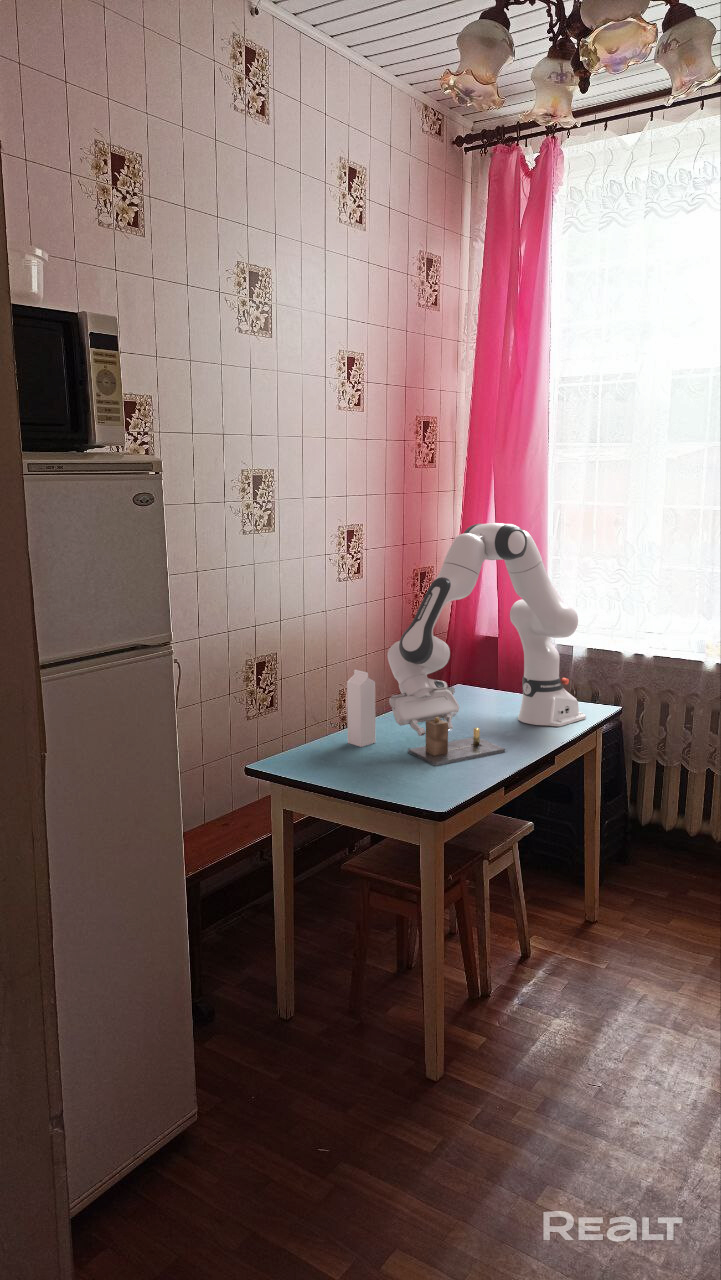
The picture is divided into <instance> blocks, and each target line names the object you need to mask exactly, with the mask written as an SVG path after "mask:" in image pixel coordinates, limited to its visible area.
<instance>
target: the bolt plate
mask: <svg viewBox="0 0 721 1280" xmlns="http://www.w3.org/2000/svg"><path fill="white" fill-rule="evenodd" d="M480 731H481V728H480V727H474V728H473V732H472V733H473V737H467V738H462V739H461V738H460V739H456V740H449V741H448V753H447V754H442V755H436V756H434V755H432V754H430V753H427V752H426V745H424V746H423V745H422V746H418V747H413V748H408V749H407V750H408V752H407V753H408V754H410V755H413V756H414V757H416V758H418V759H421V760H422V761H425V762H427V763H428V764H430V765H433V766H434V767H438V766H443V765H447V763H448V764H452V762H453V763H457V761H458V762H462V760H463V761H467V760H466V759H468V760H472V759H471V758H473V759H477V757H478V758H482V757H488V756H492V755H497V754H502V753H505V752H506V748H504V747H501V746H499V745H497V744H495V743H492V742H490V741H487V740H485V739H482V738H480V736H481V734H480V733H481V732H480ZM487 755H488V756H487ZM442 764H443V765H442ZM437 765H438V766H437Z"/></svg>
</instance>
